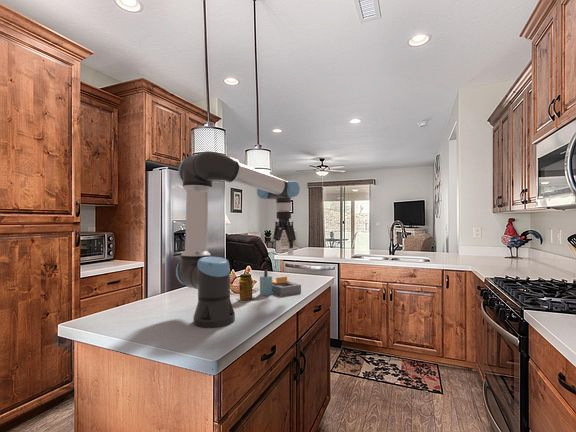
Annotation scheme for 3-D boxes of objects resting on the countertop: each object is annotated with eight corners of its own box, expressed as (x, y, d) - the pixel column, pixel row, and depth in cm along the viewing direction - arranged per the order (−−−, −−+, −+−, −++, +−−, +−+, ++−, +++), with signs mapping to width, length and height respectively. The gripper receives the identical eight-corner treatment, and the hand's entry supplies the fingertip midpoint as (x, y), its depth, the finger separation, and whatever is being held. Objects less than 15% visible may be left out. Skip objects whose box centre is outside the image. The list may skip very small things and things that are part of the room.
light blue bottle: (272, 294, 158) (271, 270, 158) (264, 295, 155) (263, 271, 155) (267, 292, 161) (267, 269, 161) (260, 294, 159) (259, 270, 159)
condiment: (236, 299, 149) (235, 274, 149) (251, 296, 154) (251, 272, 154) (243, 302, 143) (243, 276, 143) (259, 299, 148) (259, 274, 148)
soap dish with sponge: (301, 292, 160) (300, 284, 160) (281, 296, 154) (280, 288, 154) (282, 286, 175) (282, 279, 175) (263, 289, 169) (263, 282, 169)
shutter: (288, 282, 166) (288, 276, 166) (275, 284, 162) (275, 278, 162) (281, 280, 172) (281, 274, 173) (268, 281, 168) (268, 275, 168)
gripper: (302, 210, 155) (303, 255, 154) (278, 211, 174) (279, 251, 174) (289, 210, 151) (290, 256, 150) (266, 211, 170) (267, 252, 170)
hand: (284, 253), depth 162 cm, fingers open, 11 cm apart
